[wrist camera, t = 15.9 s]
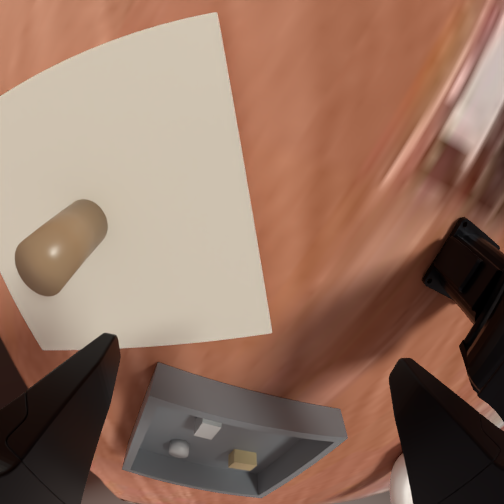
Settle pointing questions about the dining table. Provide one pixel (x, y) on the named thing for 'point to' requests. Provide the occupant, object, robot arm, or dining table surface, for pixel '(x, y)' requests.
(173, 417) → the tray
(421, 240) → the dining table surface
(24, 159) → the tub lid
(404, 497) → the white shrimp
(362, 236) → the dining table surface
